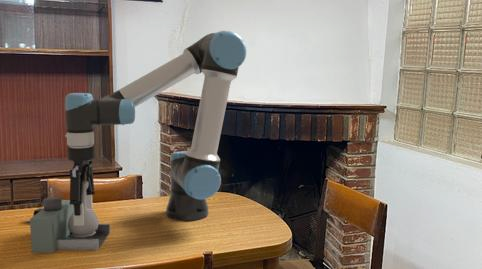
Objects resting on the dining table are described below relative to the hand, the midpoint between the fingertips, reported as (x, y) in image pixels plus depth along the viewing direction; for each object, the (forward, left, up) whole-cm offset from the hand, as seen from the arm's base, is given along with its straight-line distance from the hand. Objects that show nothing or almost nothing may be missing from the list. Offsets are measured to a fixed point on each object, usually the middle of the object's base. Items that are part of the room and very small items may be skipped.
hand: (83, 220), depth 136 cm
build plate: (+20, -17, -7) cm, 27 cm away
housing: (+9, 0, -7) cm, 11 cm away
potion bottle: (0, 0, -4) cm, 4 cm away
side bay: (0, 0, -7) cm, 7 cm away
